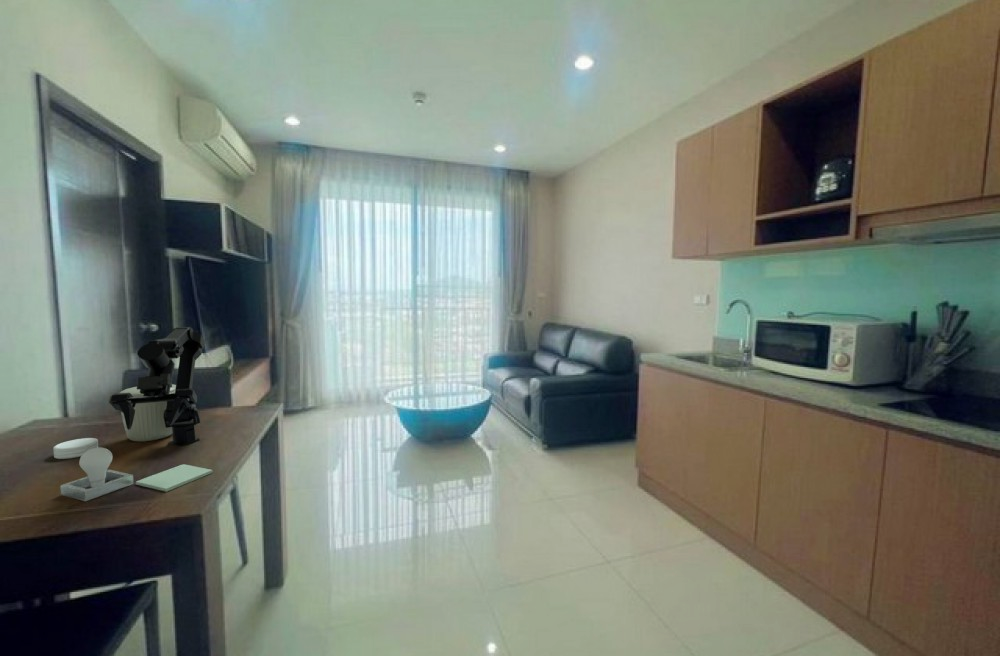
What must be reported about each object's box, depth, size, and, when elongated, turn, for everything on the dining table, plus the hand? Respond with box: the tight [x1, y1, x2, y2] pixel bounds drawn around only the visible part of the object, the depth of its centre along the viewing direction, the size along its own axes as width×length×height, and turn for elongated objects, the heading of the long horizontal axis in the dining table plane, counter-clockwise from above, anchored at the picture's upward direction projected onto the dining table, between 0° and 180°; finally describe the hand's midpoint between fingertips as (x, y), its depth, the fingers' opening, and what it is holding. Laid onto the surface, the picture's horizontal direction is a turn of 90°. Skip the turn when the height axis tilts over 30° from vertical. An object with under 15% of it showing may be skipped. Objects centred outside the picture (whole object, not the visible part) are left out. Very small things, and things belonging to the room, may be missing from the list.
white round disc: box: [52, 437, 99, 460], centre depth 130 cm, size 10×10×4 cm
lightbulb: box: [78, 446, 114, 488], centre depth 105 cm, size 6×6×11 cm
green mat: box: [135, 464, 214, 493], centre depth 112 cm, size 12×12×1 cm
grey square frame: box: [59, 469, 134, 502], centre depth 106 cm, size 10×10×2 cm
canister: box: [119, 383, 176, 442], centre depth 144 cm, size 18×18×21 cm
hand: (149, 427), depth 113 cm, fingers open, 9 cm apart
